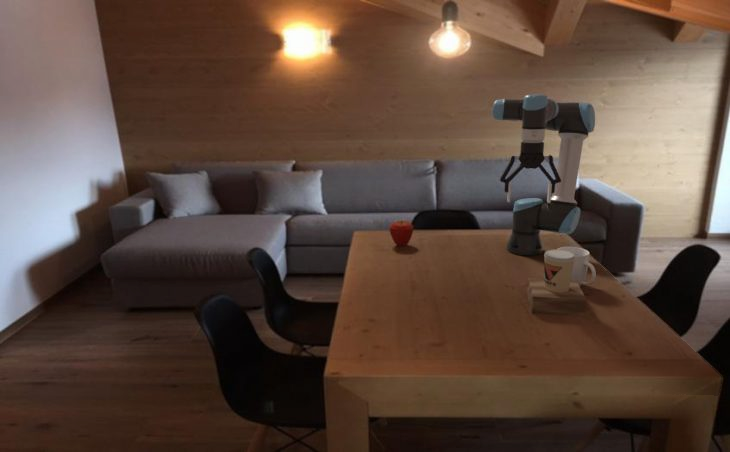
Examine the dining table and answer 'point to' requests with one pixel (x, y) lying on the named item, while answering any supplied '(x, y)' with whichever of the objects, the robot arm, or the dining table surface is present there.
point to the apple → (401, 232)
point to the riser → (555, 299)
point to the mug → (580, 265)
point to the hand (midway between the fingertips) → (528, 201)
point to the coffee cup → (558, 270)
